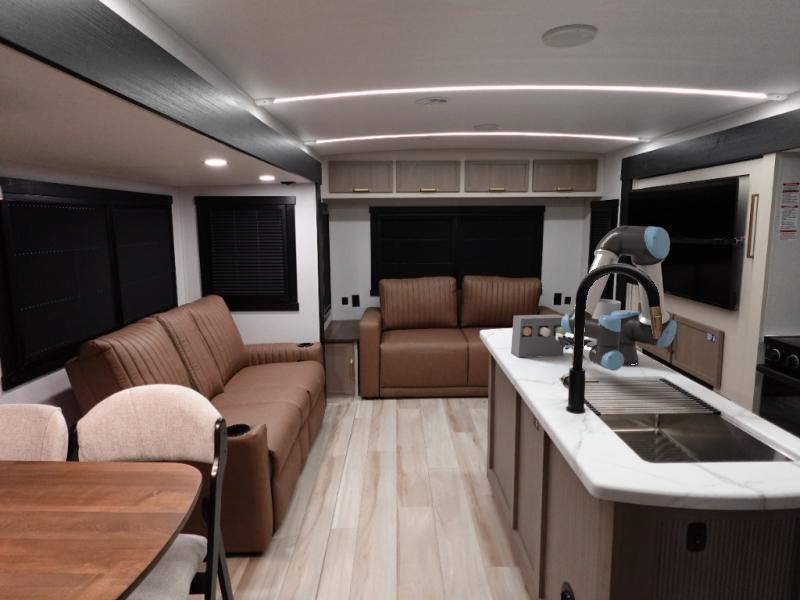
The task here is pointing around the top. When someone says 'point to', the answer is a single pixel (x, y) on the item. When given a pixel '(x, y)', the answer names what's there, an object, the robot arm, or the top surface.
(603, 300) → the cylinder vase
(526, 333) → the terracotta button
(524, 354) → the console
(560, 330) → the sage button
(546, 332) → the cream button
